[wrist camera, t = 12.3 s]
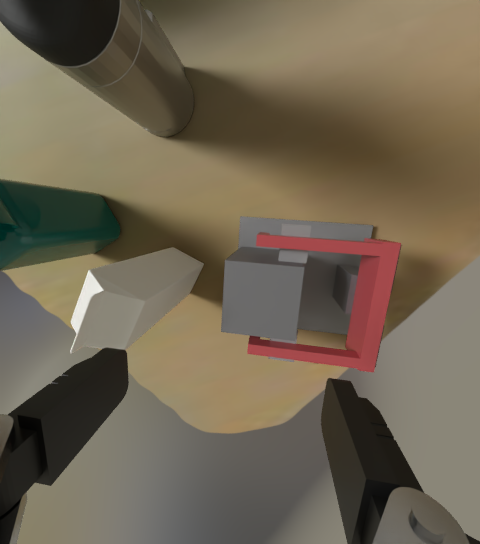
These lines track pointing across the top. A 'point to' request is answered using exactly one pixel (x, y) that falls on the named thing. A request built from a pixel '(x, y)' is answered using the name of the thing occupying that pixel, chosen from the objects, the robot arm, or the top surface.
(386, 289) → the red c-shaped frame
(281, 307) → the stand
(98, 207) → the teal bottle
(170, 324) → the top surface
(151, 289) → the milk
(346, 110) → the top surface
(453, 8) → the top surface
